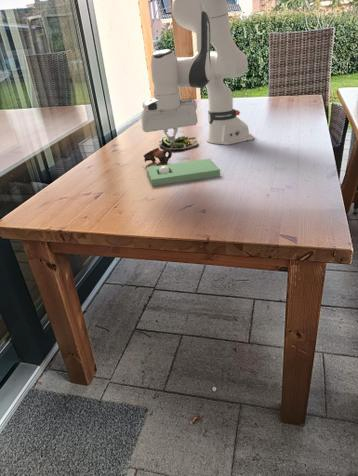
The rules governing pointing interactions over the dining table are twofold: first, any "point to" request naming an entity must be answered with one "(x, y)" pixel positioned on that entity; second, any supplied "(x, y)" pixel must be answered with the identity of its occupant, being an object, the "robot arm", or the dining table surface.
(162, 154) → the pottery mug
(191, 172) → the green board
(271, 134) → the dining table surface
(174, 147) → the salad plate
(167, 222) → the dining table surface
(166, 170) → the ball
